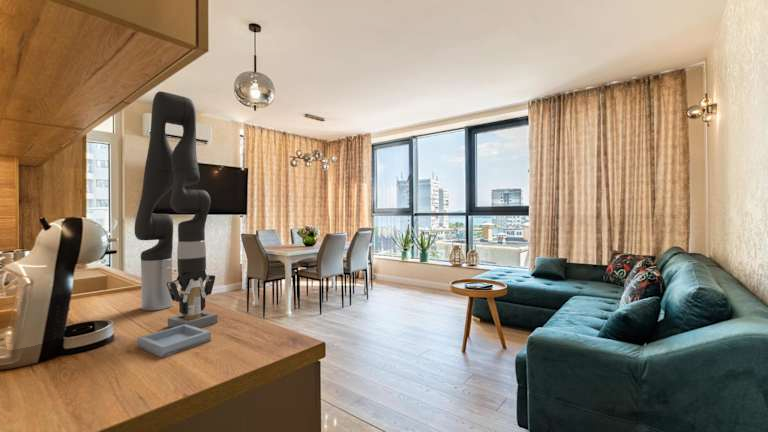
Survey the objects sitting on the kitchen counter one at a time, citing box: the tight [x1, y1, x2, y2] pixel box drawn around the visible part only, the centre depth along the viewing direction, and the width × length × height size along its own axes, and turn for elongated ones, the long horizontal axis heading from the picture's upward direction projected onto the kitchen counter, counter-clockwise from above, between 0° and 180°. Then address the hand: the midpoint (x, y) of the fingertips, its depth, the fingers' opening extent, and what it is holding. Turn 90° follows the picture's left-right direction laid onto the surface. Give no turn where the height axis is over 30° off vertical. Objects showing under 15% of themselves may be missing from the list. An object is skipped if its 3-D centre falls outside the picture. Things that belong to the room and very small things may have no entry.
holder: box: [167, 310, 218, 329], centre depth 104 cm, size 10×10×2 cm
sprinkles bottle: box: [184, 280, 201, 321], centre depth 104 cm, size 5×5×14 cm
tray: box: [137, 324, 212, 358], centre depth 89 cm, size 12×12×2 cm
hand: (192, 311), depth 104 cm, fingers closed on sprinkles bottle, 4 cm apart
